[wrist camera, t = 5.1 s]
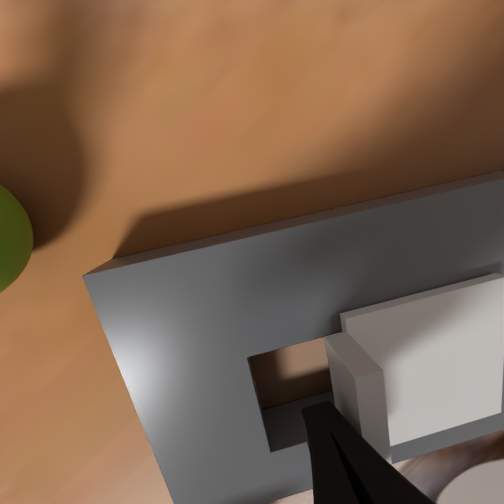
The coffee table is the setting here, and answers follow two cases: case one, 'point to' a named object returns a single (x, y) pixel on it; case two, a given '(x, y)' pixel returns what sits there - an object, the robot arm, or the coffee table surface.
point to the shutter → (420, 362)
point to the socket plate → (278, 326)
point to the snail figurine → (13, 238)
